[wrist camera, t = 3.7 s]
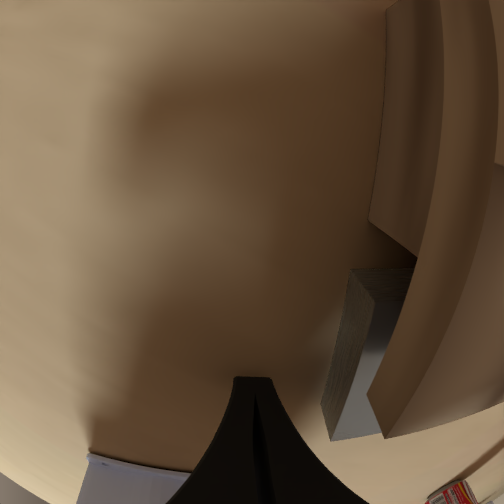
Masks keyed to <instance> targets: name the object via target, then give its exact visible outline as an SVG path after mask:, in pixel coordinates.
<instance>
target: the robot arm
mask: <svg viewBox="0 0 504 504" xmlns="http://www.w3.org/2000/svg"><path fill="white" fill-rule="evenodd" d="M86 458H87V460H88V461H89V465H88V468H87V471H86V474H85V477H84V480H83V483H82V487H81V490H80V493H79V496H78V500H77V503H76V504H369V503H368V502H366V501H365V500H363V499H362V498H361V497H359V496H358V495H356V494H355V493H354V492H353V491H351V490H350V489H349V488H348V487H346V486H345V485H344V484H343V483H342V482H341V481H340V480H339V479H338V478H337V477H336V476H334V475H333V474H332V473H331V472H330V471H329V470H328V469H327V468H326V467H325V466H324V464H323V463H322V462H321V461H320V460H319V459H318V458H317V457H316V455H315V454H314V453H313V452H312V451H311V449H310V448H309V447H308V445H307V444H306V443H305V441H304V440H303V438H302V437H301V435H300V434H299V433H298V431H297V429H296V428H295V426H294V425H293V423H292V421H291V420H290V418H289V416H288V414H287V413H286V411H285V409H284V407H283V405H282V403H281V401H280V399H279V397H278V395H277V392H276V390H275V388H274V385H273V382H272V380H271V379H270V378H269V377H241V376H236V377H235V378H234V380H233V388H232V393H231V397H230V400H229V403H228V406H227V409H226V411H225V414H224V416H223V419H222V421H221V423H220V426H219V428H218V430H217V432H216V434H215V436H214V438H213V440H212V442H211V443H210V445H209V447H208V449H207V450H206V452H205V454H204V455H203V457H202V459H201V460H200V462H199V463H198V464H197V466H196V467H195V469H194V470H193V472H192V473H183V472H176V471H169V470H162V469H156V468H150V467H145V466H140V465H135V464H131V463H126V462H122V461H118V460H114V459H110V458H106V457H102V456H99V455H95V454H91V453H88V454H87V457H86ZM486 504H493V501H489V502H488V503H486Z"/></svg>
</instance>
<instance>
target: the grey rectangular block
mask: <svg viewBox="0 0 504 504" xmlns="http://www.w3.org/2000/svg"><path fill="white" fill-rule="evenodd" d="M414 270H415V268H399V269H350V275H349V281H348V286H347V292H346V298H345V303H344V308H343V313H342V318H341V323H340V328H339V332H338V337H337V341H336V346H335V350H334V354H333V358H332V363H331V367H330V371H329V375H328V378H327V382H326V386H325V390H324V393H323V397H322V401H321V408H322V411H323V415H324V419H325V423H326V426H327V430H328V434H329V438H330V442H331V441H338V440H344V439H351V438H356V437H362V436H367V435H372V434H377V433H381V432H382V431H381V429H380V426H379V424H378V422H377V419H376V417H375V414H374V412H373V409H372V407H371V405H370V402H369V400H368V398H367V395H366V394H367V392H368V389H369V387H370V385H371V383H372V381H373V379H374V377H375V375H376V372H377V370H378V368H379V366H380V363H381V361H382V359H383V356H384V354H385V352H386V349H387V347H388V344H389V342H390V339H391V337H392V334H393V332H394V329H395V326H396V324H397V321H398V318H399V316H400V313H401V310H402V307H403V304H404V301H405V298H406V295H407V292H408V289H409V286H410V283H411V280H412V276H413V273H414Z"/></svg>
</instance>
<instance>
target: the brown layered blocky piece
mask: <svg viewBox="0 0 504 504" xmlns="http://www.w3.org/2000/svg"><path fill="white" fill-rule="evenodd" d="M368 221H370V222H371V223H372V224H374V225H375V226H377V227H378V228H379V229H381V230H382V231H383V232H385V233H386V234H388V235H389V236H390V237H392V238H393V239H394V240H396V241H397V242H398V243H400V244H401V245H402V246H403V247H405V248H406V249H407V250H409V251H410V252H411V253H413V254H414V255H415V256H416V257H418V259H417V263H416V266H415V270H414V273H413V276H412V280H411V283H410V286H409V289H408V292H407V295H406V298H405V301H404V304H403V307H402V310H401V313H400V316H399V318H398V321H397V324H396V326H395V329H394V332H393V334H392V337H391V339H390V342H389V344H388V347H387V349H386V352H385V354H384V356H383V359H382V361H381V363H380V366H379V368H378V370H377V372H376V375H375V377H374V379H373V381H372V383H371V385H370V387H369V389H368V392H367V394H366V395H367V398H368V400H369V402H370V405H371V407H372V409H373V412H374V414H375V417H376V419H377V422H378V424H379V426H380V429H381V431H382V434H383V436H384V439H388V438H393V437H397V436H402V435H406V434H410V433H414V432H418V431H422V430H425V429H429V428H433V427H436V426H439V425H443V424H446V423H449V422H452V421H455V420H458V419H461V418H464V417H467V416H469V415H472V414H475V413H477V412H480V411H483V410H485V409H488V408H490V407H492V406H495V405H497V404H499V403H502V402H504V0H399V1H398V2H396V3H395V4H394V5H392V6H391V7H389V8H388V9H387V10H386V74H385V92H384V106H383V117H382V127H381V137H380V145H379V153H378V161H377V168H376V175H375V181H374V188H373V194H372V200H371V205H370V211H369V216H368Z"/></svg>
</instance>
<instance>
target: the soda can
mask: <svg viewBox="0 0 504 504" xmlns="http://www.w3.org/2000/svg"><path fill="white" fill-rule="evenodd" d="M425 504H478V503H477V500H476V498H475V496H474V494H473V492H472V490H471V488H470V486H469V485H468V483H467V482H466V480H464V481H459V480H457V481H454V482H452V483H450V484H448V485H446V486H444V487H443V488H441V489H439V490H438V491H436V492H435V493H433V494H432V495H430V496H429V497H428V500H427V501H426V503H425Z"/></svg>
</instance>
